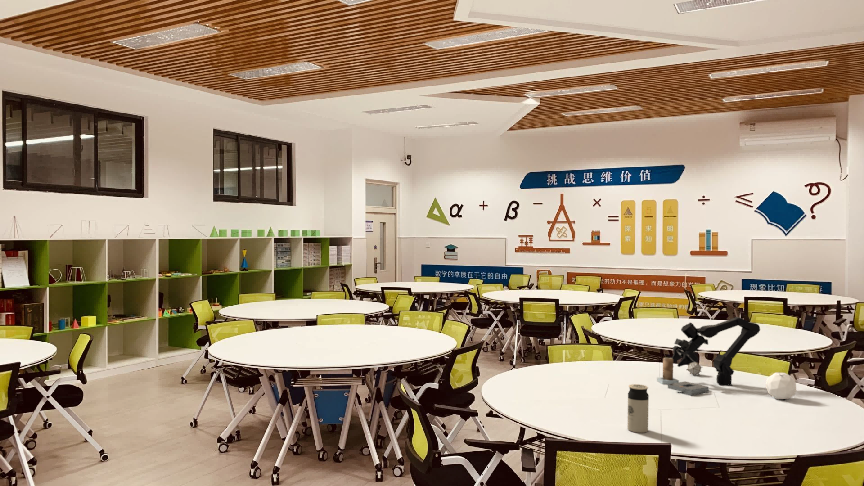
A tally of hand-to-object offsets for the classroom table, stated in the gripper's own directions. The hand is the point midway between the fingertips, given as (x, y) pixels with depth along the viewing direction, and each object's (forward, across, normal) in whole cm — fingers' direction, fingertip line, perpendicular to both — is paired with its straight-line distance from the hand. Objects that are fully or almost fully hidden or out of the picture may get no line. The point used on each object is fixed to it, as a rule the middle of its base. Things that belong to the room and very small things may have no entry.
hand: (674, 364), depth 339 cm
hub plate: (+7, +15, +8) cm, 19 cm away
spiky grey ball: (-9, -24, +24) cm, 35 cm away
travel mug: (+45, +80, -29) cm, 96 cm away
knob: (+9, 0, +5) cm, 10 cm away
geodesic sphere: (-21, +31, +36) cm, 52 cm away
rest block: (+10, 0, +5) cm, 11 cm away
